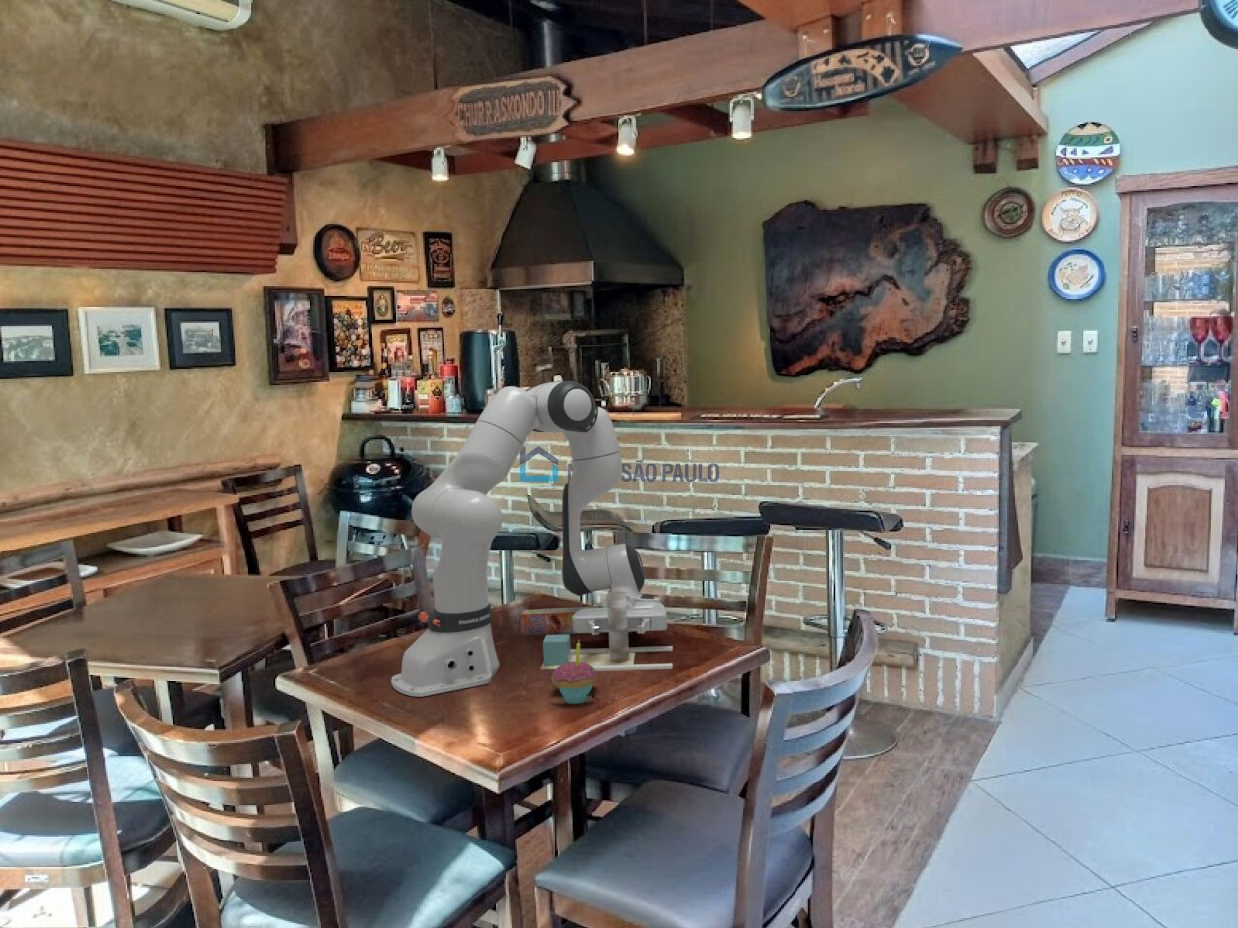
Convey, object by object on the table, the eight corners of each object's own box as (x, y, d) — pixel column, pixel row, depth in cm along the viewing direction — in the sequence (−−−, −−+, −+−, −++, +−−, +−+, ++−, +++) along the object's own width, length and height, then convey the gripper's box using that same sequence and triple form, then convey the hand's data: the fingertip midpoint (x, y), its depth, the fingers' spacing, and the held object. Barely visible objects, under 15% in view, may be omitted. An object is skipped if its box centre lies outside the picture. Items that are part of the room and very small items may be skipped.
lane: (673, 655, 195) (672, 645, 195) (672, 675, 182) (672, 665, 182) (566, 658, 196) (566, 649, 196) (558, 678, 184) (558, 669, 183)
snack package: (518, 640, 213) (516, 612, 212) (524, 632, 219) (523, 604, 218) (608, 638, 210) (606, 610, 209) (612, 630, 216) (610, 602, 216)
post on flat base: (635, 657, 193) (631, 587, 192) (633, 671, 184) (629, 598, 183) (546, 660, 195) (542, 591, 193) (540, 674, 186) (536, 602, 184)
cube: (571, 657, 192) (569, 634, 192) (568, 665, 187) (566, 641, 187) (547, 658, 193) (546, 635, 192) (544, 665, 188) (542, 642, 187)
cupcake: (607, 697, 172) (603, 636, 170) (574, 711, 166) (570, 647, 164) (576, 688, 178) (573, 628, 176) (543, 701, 172) (539, 639, 170)
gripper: (574, 600, 202) (566, 617, 188) (666, 596, 200) (666, 613, 186) (576, 627, 202) (568, 646, 188) (668, 624, 201) (667, 643, 187)
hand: (617, 630), depth 187 cm, fingers open, 8 cm apart
